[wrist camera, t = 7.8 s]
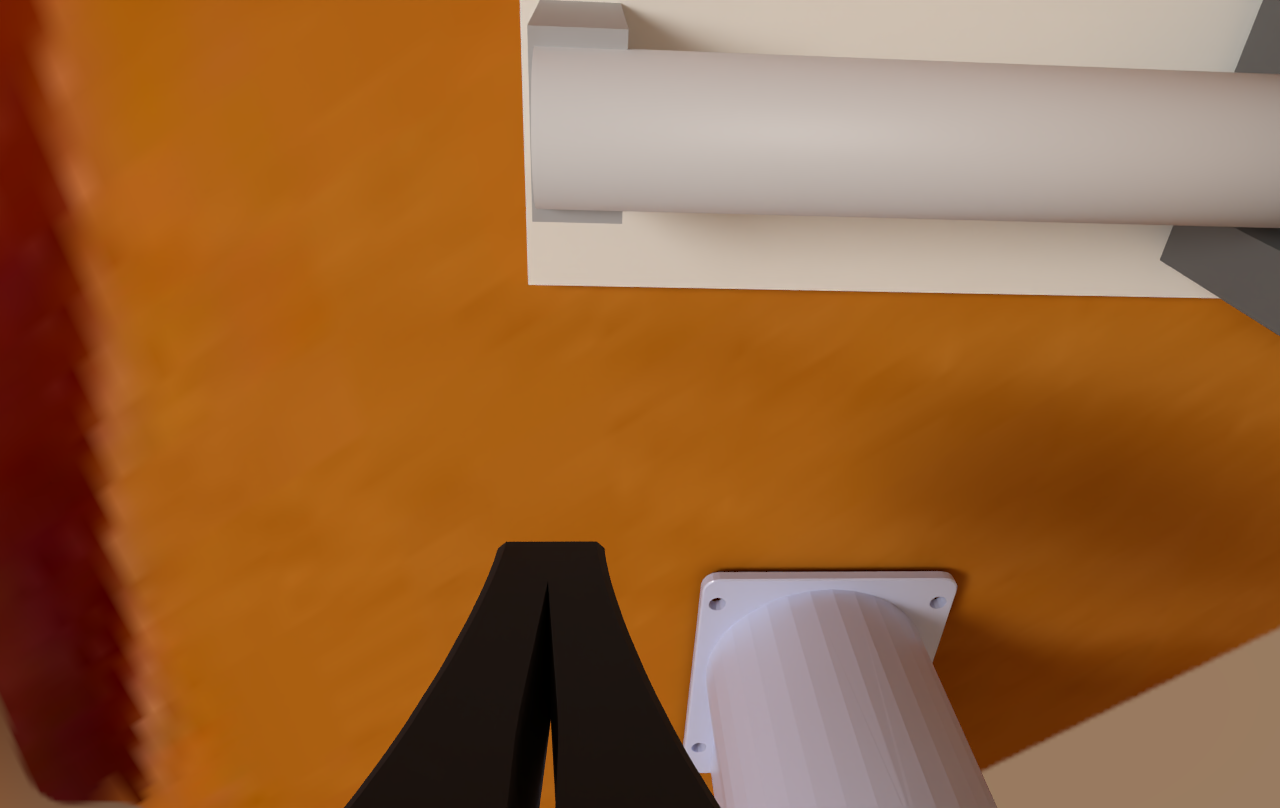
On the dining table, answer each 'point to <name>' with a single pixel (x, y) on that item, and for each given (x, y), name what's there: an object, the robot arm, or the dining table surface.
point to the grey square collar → (1238, 256)
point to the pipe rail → (896, 236)
